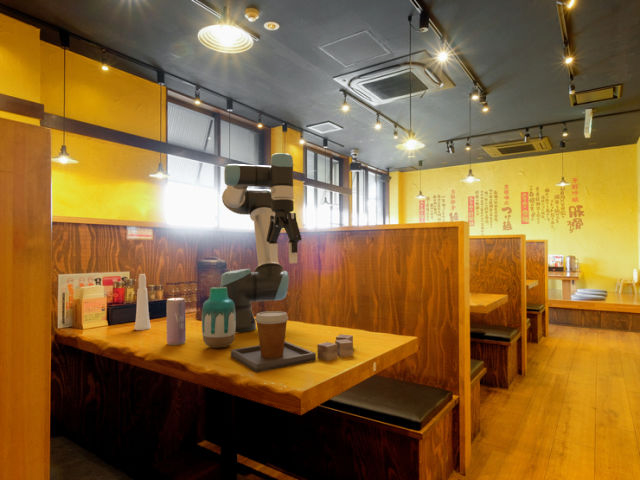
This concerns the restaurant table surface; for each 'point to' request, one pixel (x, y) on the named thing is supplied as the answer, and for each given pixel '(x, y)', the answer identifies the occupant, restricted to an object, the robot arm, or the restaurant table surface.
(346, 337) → the cube
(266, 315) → the disposable coffee cup
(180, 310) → the beverage can
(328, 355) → the cube
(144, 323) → the cosmetic bottle
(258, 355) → the tray
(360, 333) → the restaurant table surface
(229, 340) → the vase
